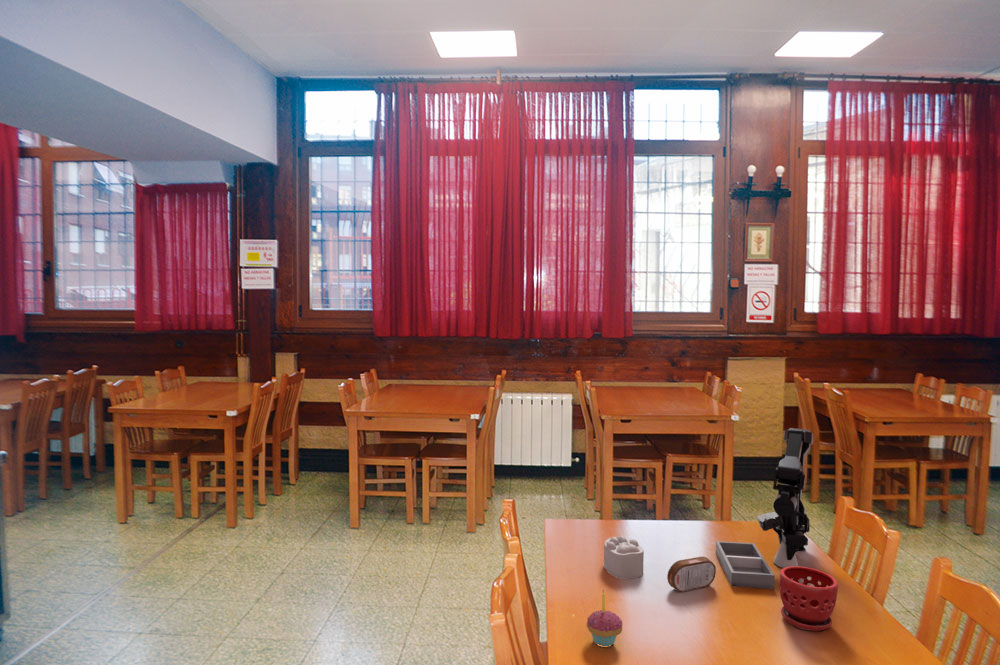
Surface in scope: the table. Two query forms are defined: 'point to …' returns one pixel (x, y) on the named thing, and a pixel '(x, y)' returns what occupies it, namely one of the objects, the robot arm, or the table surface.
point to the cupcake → (604, 625)
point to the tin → (691, 574)
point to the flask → (784, 558)
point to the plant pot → (807, 597)
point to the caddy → (744, 565)
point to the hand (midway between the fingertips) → (786, 556)
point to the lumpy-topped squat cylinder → (623, 557)
